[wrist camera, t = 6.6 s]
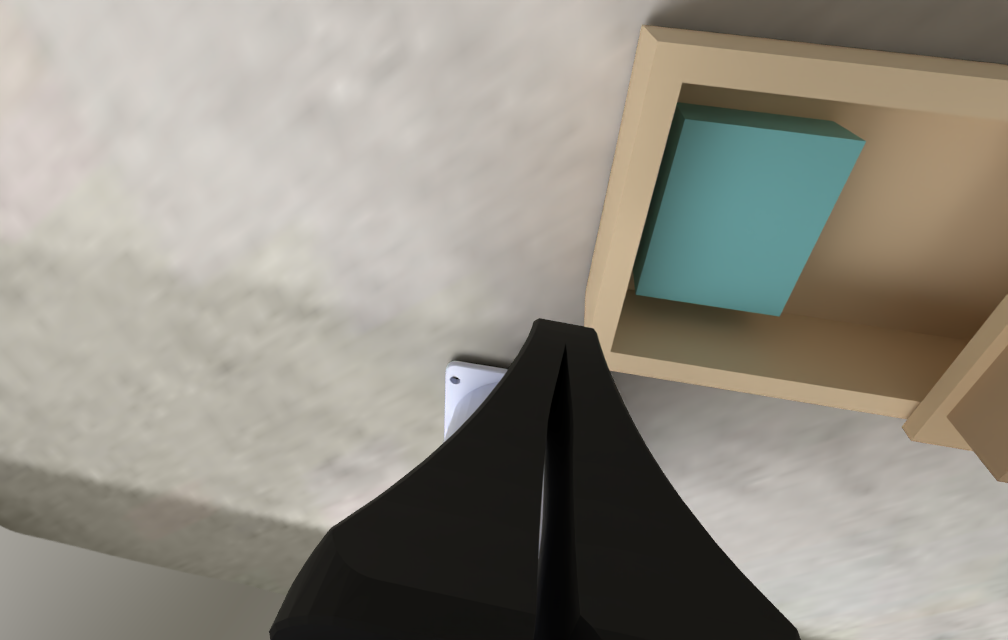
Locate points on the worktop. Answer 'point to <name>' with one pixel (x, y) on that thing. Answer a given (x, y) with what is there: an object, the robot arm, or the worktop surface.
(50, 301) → the worktop surface
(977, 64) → the lidded box
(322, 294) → the worktop surface
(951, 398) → the lid
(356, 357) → the worktop surface
